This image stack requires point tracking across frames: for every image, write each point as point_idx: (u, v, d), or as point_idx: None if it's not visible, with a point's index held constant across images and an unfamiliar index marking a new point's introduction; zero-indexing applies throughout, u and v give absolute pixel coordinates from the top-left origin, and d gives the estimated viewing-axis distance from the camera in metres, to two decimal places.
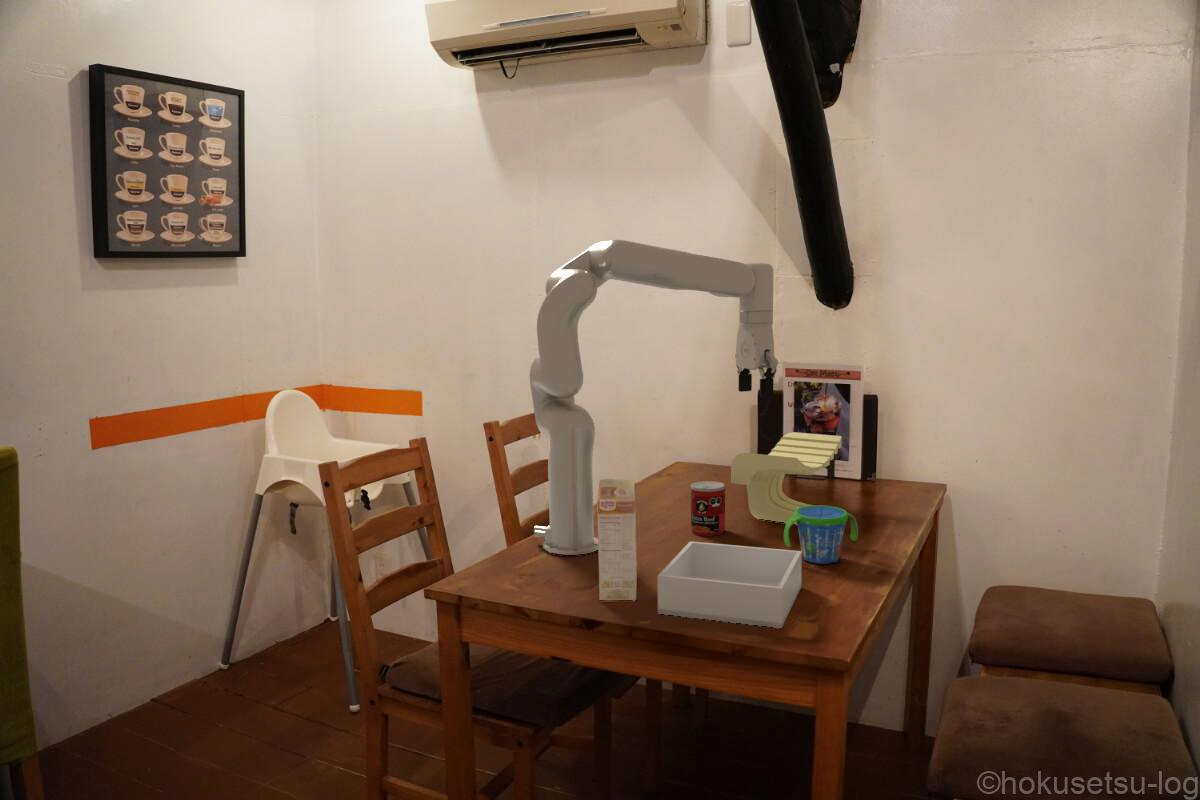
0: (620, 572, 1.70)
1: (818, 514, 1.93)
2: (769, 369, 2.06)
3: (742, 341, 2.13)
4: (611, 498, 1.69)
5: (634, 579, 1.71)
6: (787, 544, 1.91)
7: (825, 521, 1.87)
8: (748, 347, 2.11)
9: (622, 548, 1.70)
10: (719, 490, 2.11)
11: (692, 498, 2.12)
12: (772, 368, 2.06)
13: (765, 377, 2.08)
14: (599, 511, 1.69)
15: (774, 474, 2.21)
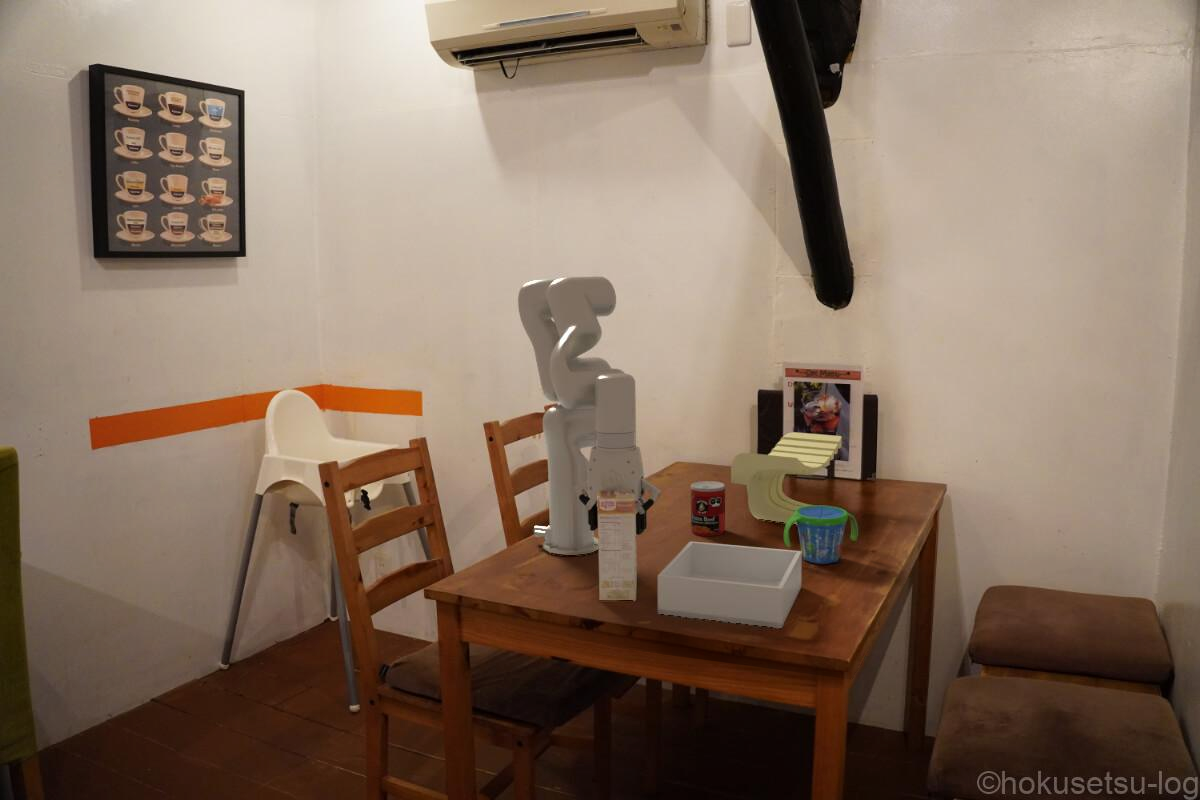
0: (620, 572, 1.70)
1: (818, 514, 1.93)
2: (651, 501, 1.73)
3: (605, 469, 1.73)
4: (611, 498, 1.69)
5: (634, 579, 1.71)
6: (787, 544, 1.91)
7: (825, 521, 1.87)
8: (619, 477, 1.72)
9: (622, 547, 1.70)
10: (719, 490, 2.11)
11: (692, 498, 2.12)
12: (655, 500, 1.73)
13: (644, 511, 1.73)
14: (599, 511, 1.69)
15: (774, 474, 2.21)
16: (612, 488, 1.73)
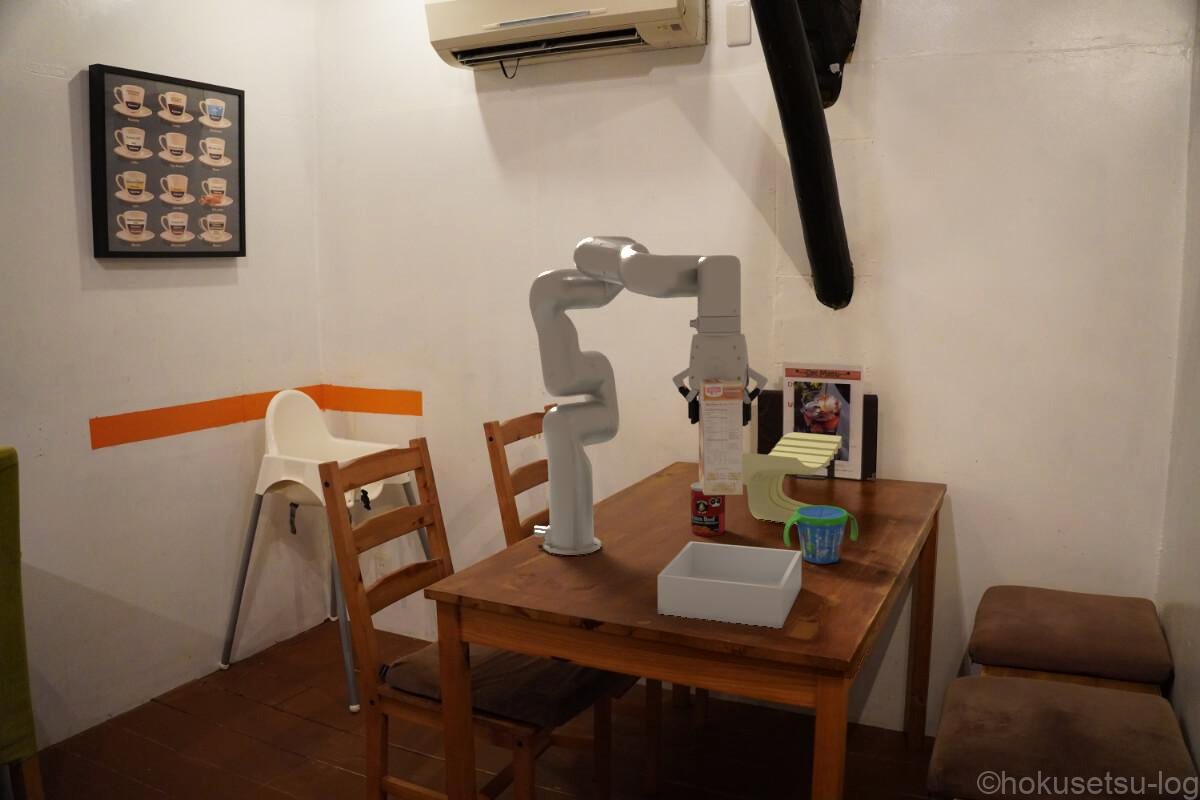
0: (726, 463, 1.60)
1: (818, 514, 1.93)
2: (758, 390, 1.63)
3: (708, 356, 1.63)
4: (718, 383, 1.59)
5: (741, 471, 1.61)
6: (787, 544, 1.91)
7: (825, 521, 1.87)
8: (724, 363, 1.62)
9: (728, 437, 1.60)
10: None
11: (692, 498, 2.12)
12: (762, 389, 1.63)
13: (750, 401, 1.64)
14: (705, 397, 1.59)
15: (774, 474, 2.21)
16: (716, 376, 1.63)
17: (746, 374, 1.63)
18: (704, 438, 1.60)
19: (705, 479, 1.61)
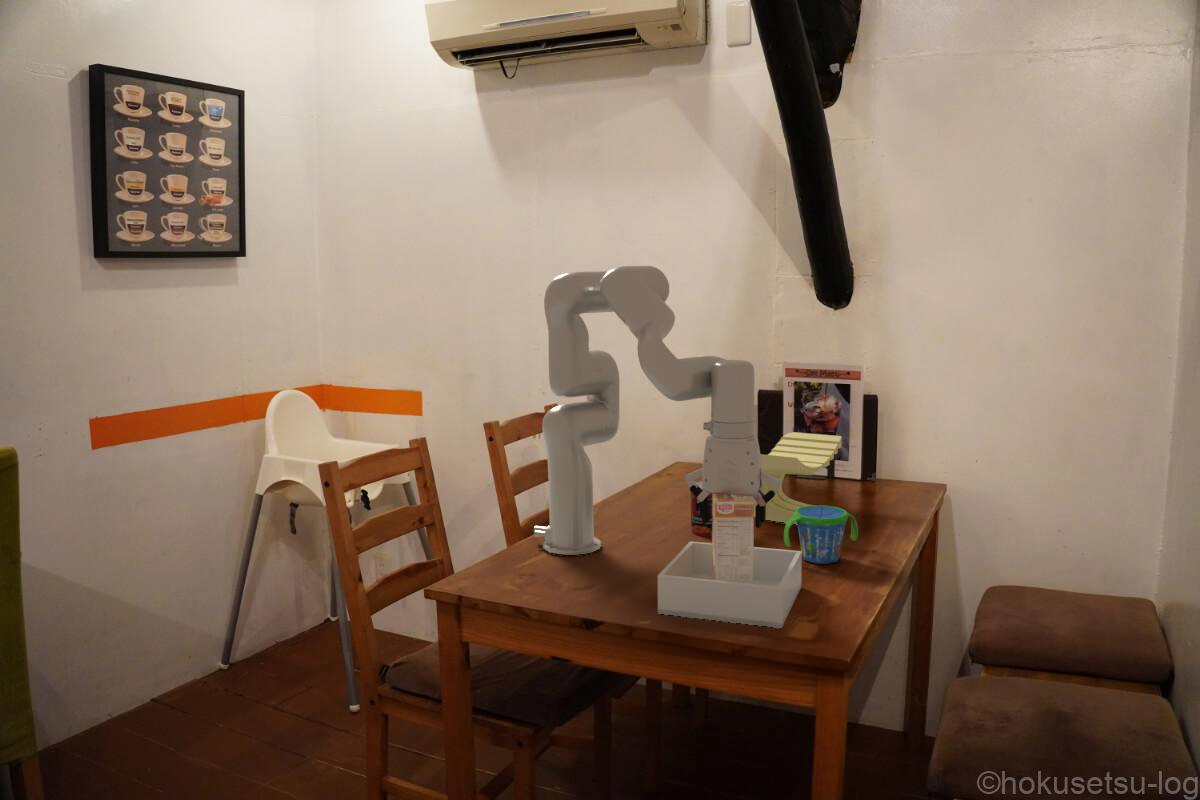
0: (737, 578, 1.63)
1: (818, 514, 1.93)
2: (773, 493, 1.65)
3: (722, 461, 1.65)
4: (729, 501, 1.61)
5: None
6: (787, 544, 1.91)
7: (825, 521, 1.87)
8: (737, 468, 1.64)
9: (740, 553, 1.62)
10: None
11: (692, 498, 2.12)
12: (776, 491, 1.65)
13: (765, 503, 1.65)
14: (716, 514, 1.62)
15: (774, 474, 2.21)
16: (729, 480, 1.65)
17: (759, 478, 1.65)
18: (715, 553, 1.63)
19: None
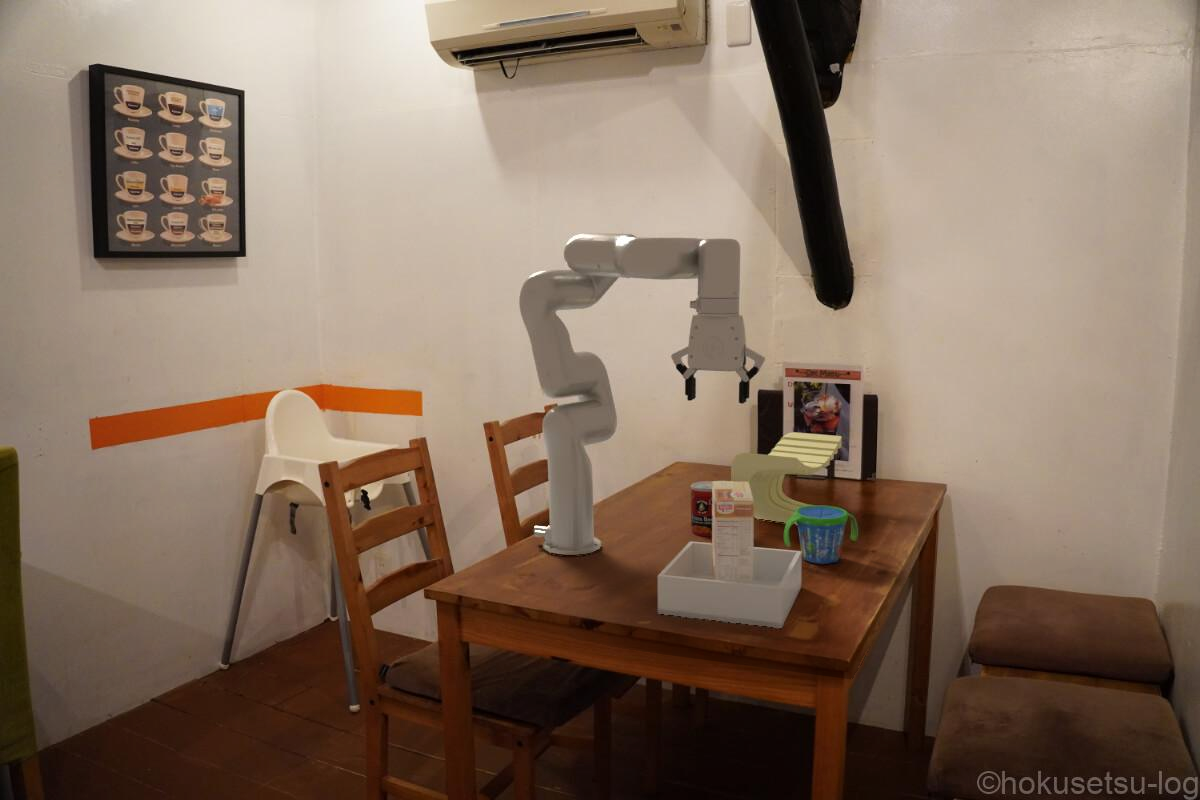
0: (737, 578, 1.63)
1: (818, 514, 1.93)
2: (756, 369, 1.68)
3: (707, 337, 1.69)
4: (729, 501, 1.61)
5: None
6: (787, 544, 1.91)
7: (825, 521, 1.87)
8: (722, 343, 1.68)
9: (739, 553, 1.62)
10: None
11: (692, 498, 2.12)
12: (759, 367, 1.69)
13: (748, 379, 1.69)
14: (716, 514, 1.62)
15: (774, 474, 2.21)
16: (714, 356, 1.69)
17: (743, 354, 1.68)
18: (715, 553, 1.63)
19: None
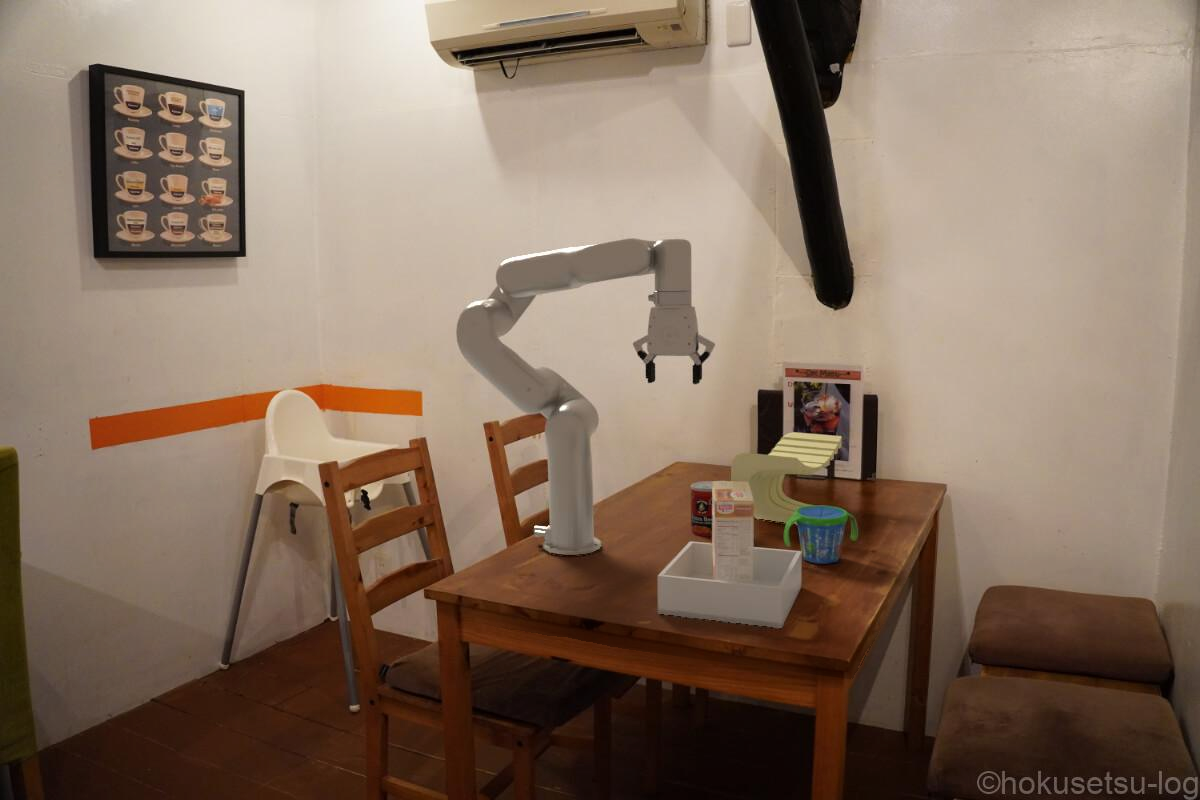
0: (737, 578, 1.63)
1: (818, 514, 1.93)
2: (707, 353, 1.91)
3: (664, 326, 1.91)
4: (729, 501, 1.61)
5: None
6: (787, 544, 1.91)
7: (825, 521, 1.87)
8: (676, 331, 1.91)
9: (739, 553, 1.62)
10: None
11: (692, 498, 2.12)
12: (710, 352, 1.91)
13: (700, 362, 1.92)
14: (716, 514, 1.62)
15: (774, 474, 2.21)
16: (670, 342, 1.91)
17: (695, 341, 1.91)
18: (715, 553, 1.63)
19: None
